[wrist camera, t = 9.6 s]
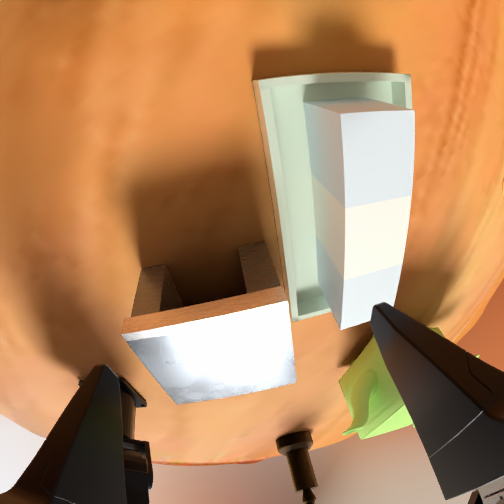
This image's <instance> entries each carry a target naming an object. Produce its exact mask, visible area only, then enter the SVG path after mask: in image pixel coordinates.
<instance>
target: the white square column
mask: <svg viewBox="0 0 504 504" xmlns="http://www.w3.org/2000/svg"><path fill="white" fill-rule="evenodd" d="M303 106H304V114H305V122H306V130H307V139H308V148H309V157H310V167H311V178H312V190H313V202H314V216H315V232H316V251H317V275H318V284H319V286H320V288H321V290H322V293H323V295H324V297H325V299H326V301H327V303H328V305H329V307H330V309H331V311H332V313H333V315H334V317H335V319H336V322H337V324H338V326H339V328H340V330H343V329H346V328H349V327H352V326H356V325H359V324H362V323H365V322H368V321H370V319H371V314H372V308H373V306H374V305H375V304H379V303H382V302H386V303H388V304H390V305H391V306H393V307H394V302H395V298H396V293H397V289H398V284H399V279H400V274H401V269H402V263H403V257H404V252H405V245H406V239H407V232H408V224H409V216H410V207H411V197H412V185H413V171H414V147H415V110H411V109H408V108H405V107H401V106H397V105H394V104H390V103H386V102H382V101H378V100H374V99H369V98H365V97H361V98H342V99H329V100H318V101H308V102H303Z"/></svg>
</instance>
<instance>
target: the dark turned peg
mask: <svg viewBox="0 0 504 504" xmlns="http://www.w3.org/2000/svg"><path fill="white" fill-rule="evenodd" d="M276 445H277V449H278V452H279V453H280V454H282V455H285V456H287V460H288V464H289V468H290V472H291V475H292V479H293V483H294V487H295V492H303V503H305V504H314V502H315V500H316V497H315V495H314V494H313V492H312V491H311V489H314V488H317V487H318V484H317V481H316V478H315V474H314V471H313V467H312V464H311V460H310V457H309V453H308V450H309V449H310V448H311V446H312V445H313V440H312V437H311V434H310V432H296V433H292V434H289V435H285V436H283V437H281V438H279V439H278V440H277V441H276Z"/></svg>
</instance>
